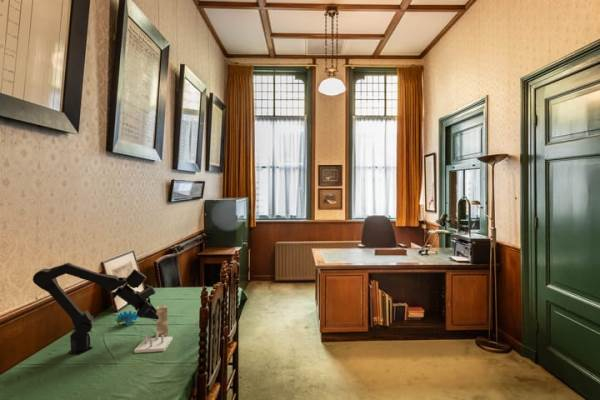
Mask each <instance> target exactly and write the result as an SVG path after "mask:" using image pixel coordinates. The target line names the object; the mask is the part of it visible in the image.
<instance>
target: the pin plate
mask: <svg viewBox="0 0 600 400" xmlns="http://www.w3.org/2000/svg"><path fill="white" fill-rule="evenodd" d="M173 339H174V338H173V336H164V335H161V337H158V332H157V331H156V332H155V336H154V337H148V336H147V335H144V339H143V340H141V342H140V343H139V344H138V345H137V347H135V349H134V354H138V353H139V354H140V353H153V352H154V353H155V352H165V351H166V349H167V348H168V346H169V345H170V343H171V342H172V341H173Z"/></svg>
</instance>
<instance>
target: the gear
mask: <svg viewBox="0 0 600 400" xmlns="http://www.w3.org/2000/svg"><path fill="white" fill-rule="evenodd" d="M137 319H140V317H138V316H137V311H133V312H132V310H129V311H128V312H127V311H124V312H123V313H122V312H120V313H119V314H117V317H115V318H114V321H115V322H116V323H117V324H116V325H117V328H119V326H120V323H123V322H124V323H126V324H125V325H126V327H129V325H130V323H132V322H133V321H137Z"/></svg>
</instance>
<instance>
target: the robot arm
mask: <svg viewBox="0 0 600 400" xmlns="http://www.w3.org/2000/svg"><path fill="white" fill-rule="evenodd" d="M66 274H67V275H69V276H73V277H76V278H79V279H82V280H85V281H88V282H91V283H94V284H96V285H98V286H99V287H101V288H102V289H104V290H106V291H108V292H111V296H112V300H115V298H116V297H119V298H120V299H121V300H123V301H124V302H126V304H127V305H128V306H131V307H133V308H134V310H135V311H136V314H137V316H138V317H139V319H141V318H142V319H144V318H145V319H150V320H156V321H157V320H158V319H159V317H158V316H157V313H156V307H154V305H153V304H152V303H151V296H153V295H155V294H156V291H155V289H154V287H153V285H148V284H146V285H145V286H143V290H142V291H139V290H135V289H136V288H139V287H140V286H141V285H142V284H143V283H144V282H145V280H147V278H148V277H147V276H146V275H145V274H144V273H142V272H141V271H139V270H137V269H136V268H134V269H133V270H132V271H131V272H130V273H129V275H128V276H126V277H119V276H117V275H115V274H114V275H113V274H108V273H98V272H96V271H93V270H90V269H87V268H84V267H81V266H79V265H74V264H73V263H72V262H65V263H63V264H61V265H57V266H53V267H52V268H42V269H40V270H39V271H36V272H35V274H34V275H33V276H32V282H33V284H35V285H36V286H37V287H39V288H40V289H41V290H43V291H44V292H47V293H48V294H49V295H50V296H51V297H52V299H54V301H56V303H57V304H58V305H59V306H60V307H61V309H62V310H63V311H64V312H65V313H66V315H67V316H69V318H70V319H71V323H72V325H73V329H72V331H71V334H70V335H69V339H70V341H69V342H70V349H69V351H67V353H68V354H74V355H81V354H83V353H85V352H87V351H89V350H91V349H93V347H94V346H91V336H90V333H89V332H91V330H92V329H93V326H94V316H93V315H92V314H90V311H89V310H85V312H84V310H83V311H82V309H80V308H79V307H78V306H77V304H76V303H75V302H74V301H73V300H72V298H71V297H70V296H69V295H68V294H67V293H66V292H65V290H64V289H63V287H61V286H60V284H59V282H58V280H57V278H59V277H61V276H64V275H66Z"/></svg>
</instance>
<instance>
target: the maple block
mask: <svg viewBox="0 0 600 400" xmlns="http://www.w3.org/2000/svg"><path fill="white" fill-rule="evenodd" d="M155 309H156V314H157V316H158V317H159V319H158V320H157V319H156V332H158V337H161V335H164V337H168V336H169V325H168V324H169V323H168V322H169V321H168V320H169V319H168V306H167V304H164V305H157V306H156V307H155Z"/></svg>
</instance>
